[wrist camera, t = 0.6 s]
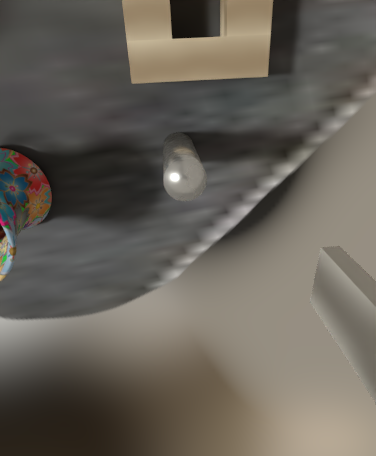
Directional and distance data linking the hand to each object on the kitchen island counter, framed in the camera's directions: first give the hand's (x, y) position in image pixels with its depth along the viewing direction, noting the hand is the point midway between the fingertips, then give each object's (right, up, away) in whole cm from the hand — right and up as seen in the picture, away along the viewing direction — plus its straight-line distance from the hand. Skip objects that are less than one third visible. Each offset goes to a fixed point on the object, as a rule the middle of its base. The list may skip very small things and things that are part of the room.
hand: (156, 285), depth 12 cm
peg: (0, +10, +18) cm, 20 cm away
